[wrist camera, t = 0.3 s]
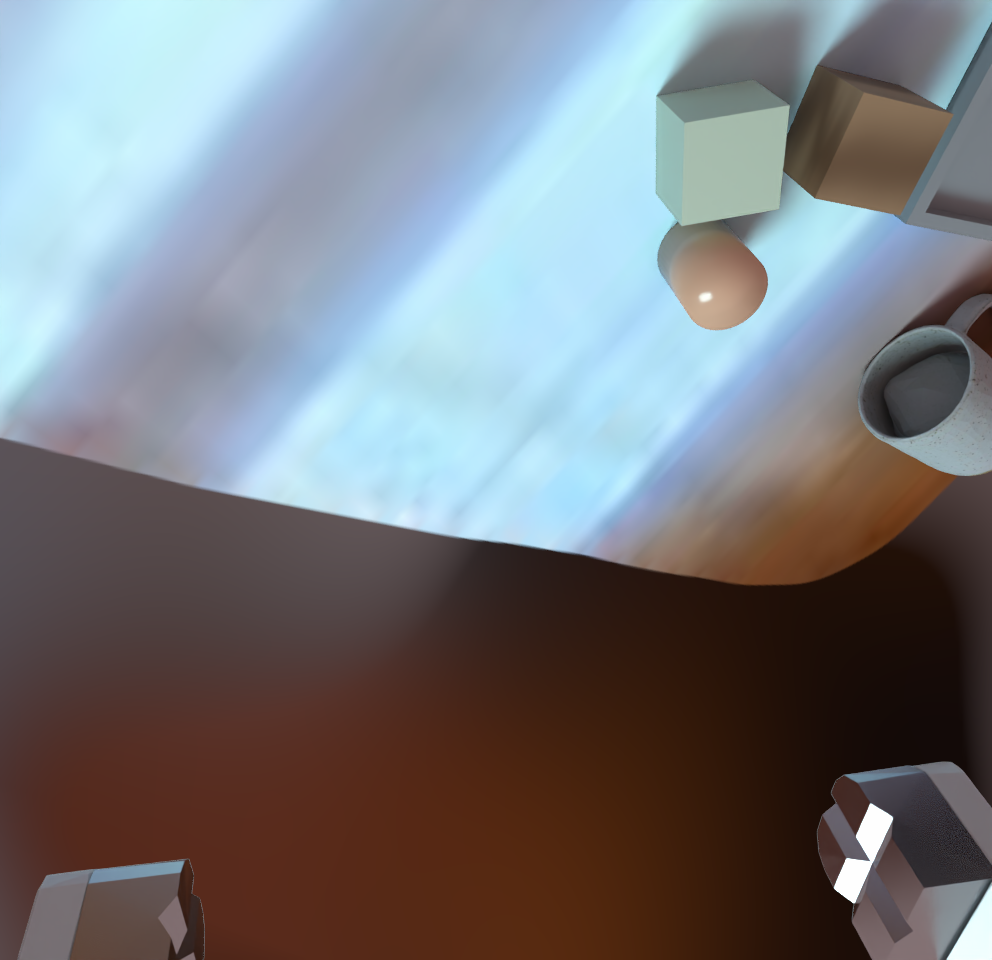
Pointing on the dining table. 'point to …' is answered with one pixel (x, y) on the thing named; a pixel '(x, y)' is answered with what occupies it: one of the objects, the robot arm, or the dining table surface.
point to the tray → (961, 160)
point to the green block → (720, 151)
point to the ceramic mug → (934, 394)
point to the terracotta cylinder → (712, 274)
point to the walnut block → (862, 140)
